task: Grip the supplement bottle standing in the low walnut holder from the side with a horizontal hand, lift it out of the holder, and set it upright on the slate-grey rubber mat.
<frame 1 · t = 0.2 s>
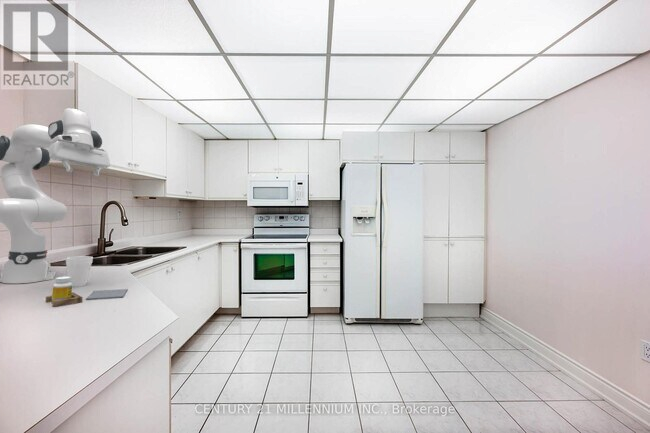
hand: (83, 173, 114), 52 cm above the counter, tool tilted 20°, fingers open, 8 cm apart
supplement bottle: (61, 302, 102), resting in slot holder
slate mat: (108, 294, 114), on the counter
foam cup: (77, 285, 125), on the counter
slot holder: (61, 302, 102), on the counter
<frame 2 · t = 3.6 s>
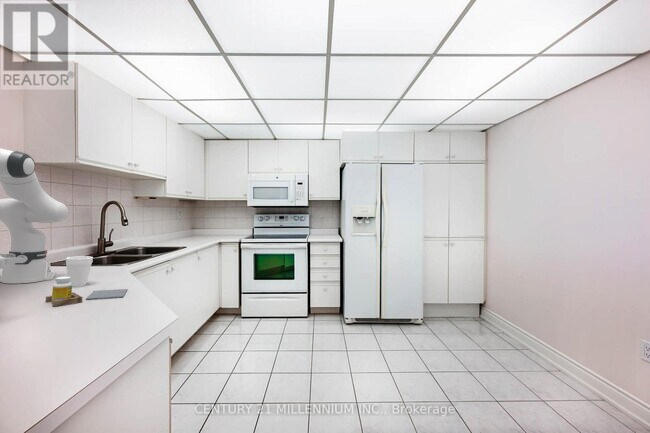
hand: (18, 258, 92), 18 cm above the counter, tool horizontal, fingers open, 8 cm apart
nothing on the counter moved.
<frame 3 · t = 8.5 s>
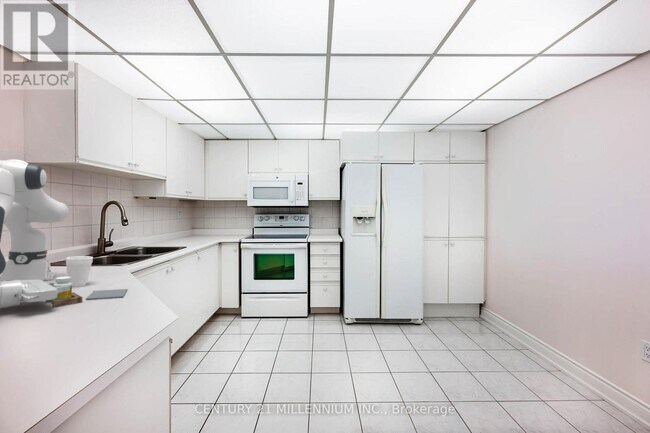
hand: (65, 286, 102), 6 cm above the counter, tool horizontal, fingers closed on supplement bottle, 5 cm apart
supplement bottle: (61, 302, 102), resting in slot holder, touching gripper
everything else where it was.
when the fingers open (8 cm above the counter, at t = 15.6 s): supplement bottle stays where it is, resting on slate mat.
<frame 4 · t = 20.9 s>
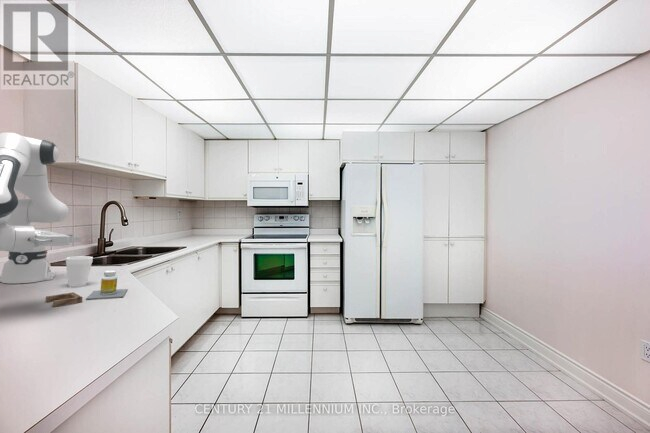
hand: (76, 237, 104), 25 cm above the counter, tool horizontal, fingers open, 8 cm apart
supplement bottle: (108, 293, 114), resting on slate mat
everything else where it was.
at the end: supplement bottle inside the target area (0.1 cm from its centre), resting on slate mat; supplement bottle tilted 0°; the gripper is holding nothing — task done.
